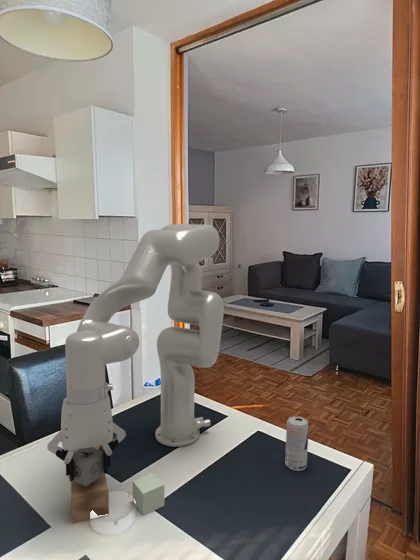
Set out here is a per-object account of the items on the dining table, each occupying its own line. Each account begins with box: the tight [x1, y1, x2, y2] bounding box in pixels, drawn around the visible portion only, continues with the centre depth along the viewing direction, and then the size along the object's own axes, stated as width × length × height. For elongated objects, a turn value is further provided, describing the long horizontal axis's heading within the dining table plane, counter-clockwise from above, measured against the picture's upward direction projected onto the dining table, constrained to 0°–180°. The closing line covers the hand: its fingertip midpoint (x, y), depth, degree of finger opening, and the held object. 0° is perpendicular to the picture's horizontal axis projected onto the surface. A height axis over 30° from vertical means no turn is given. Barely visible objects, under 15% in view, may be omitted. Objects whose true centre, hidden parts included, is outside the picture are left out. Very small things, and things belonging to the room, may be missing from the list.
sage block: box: [132, 472, 165, 516], centre depth 86 cm, size 5×5×5 cm
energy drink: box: [284, 415, 310, 472], centre depth 100 cm, size 5×5×12 cm
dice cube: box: [68, 447, 104, 487], centre depth 84 cm, size 5×5×5 cm
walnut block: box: [70, 474, 110, 525], centre depth 85 cm, size 7×7×6 cm
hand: (88, 473), depth 84 cm, fingers closed on dice cube, 6 cm apart
